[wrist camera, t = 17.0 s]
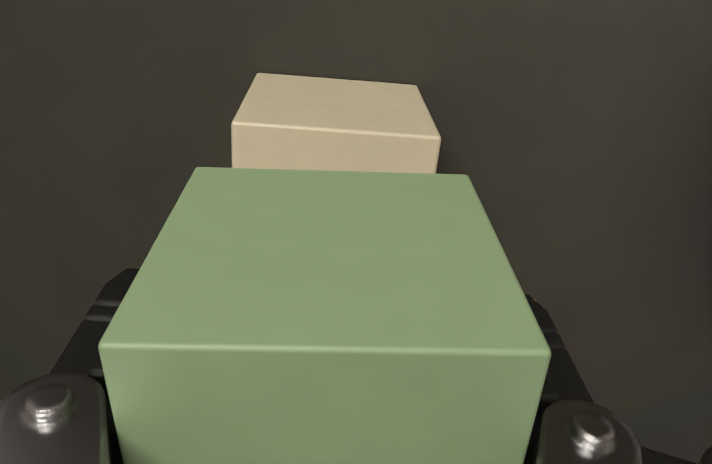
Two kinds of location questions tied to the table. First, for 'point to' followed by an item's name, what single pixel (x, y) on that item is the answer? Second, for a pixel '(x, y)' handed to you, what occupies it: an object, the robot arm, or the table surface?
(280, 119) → the cream block
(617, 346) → the table surface
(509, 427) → the green block
